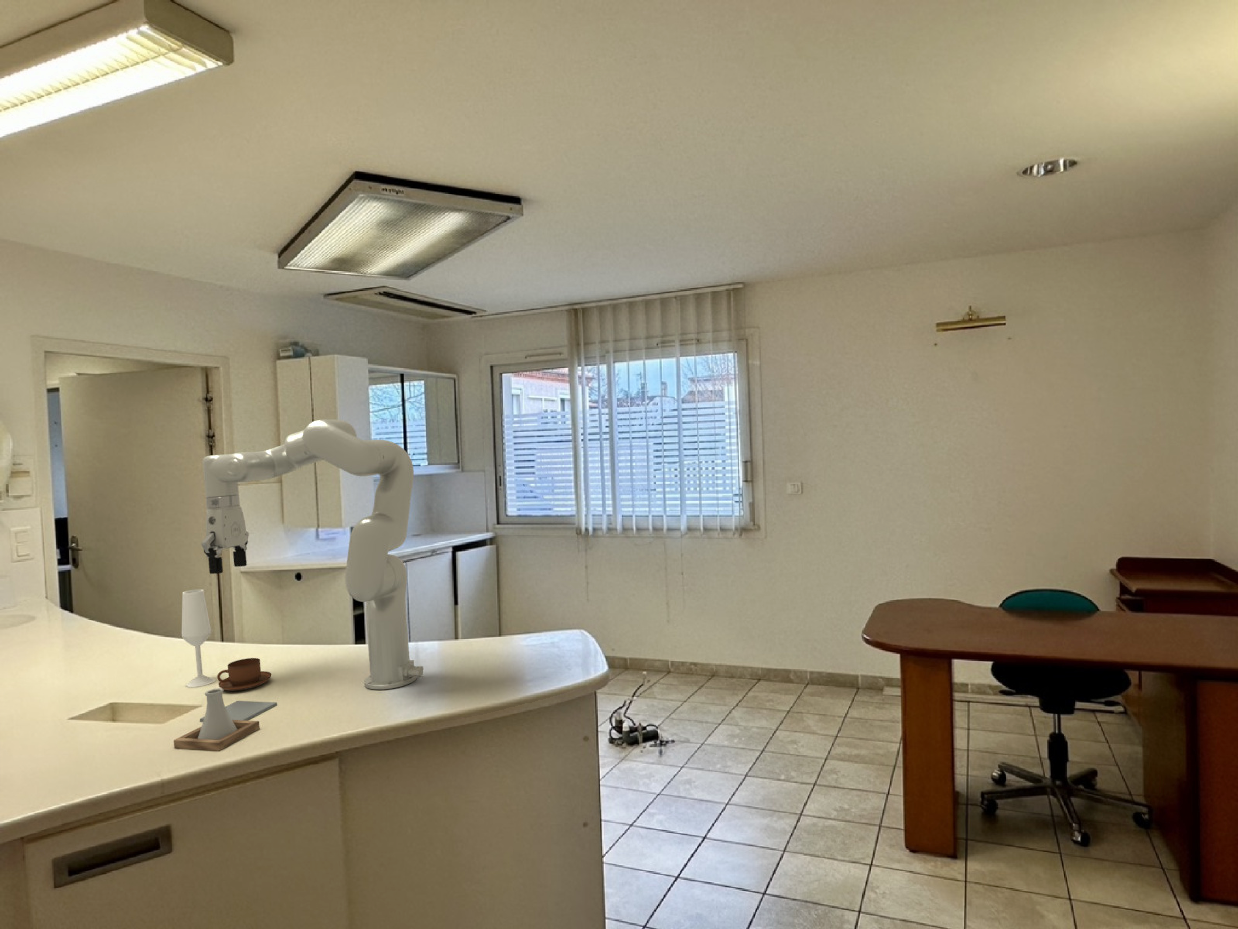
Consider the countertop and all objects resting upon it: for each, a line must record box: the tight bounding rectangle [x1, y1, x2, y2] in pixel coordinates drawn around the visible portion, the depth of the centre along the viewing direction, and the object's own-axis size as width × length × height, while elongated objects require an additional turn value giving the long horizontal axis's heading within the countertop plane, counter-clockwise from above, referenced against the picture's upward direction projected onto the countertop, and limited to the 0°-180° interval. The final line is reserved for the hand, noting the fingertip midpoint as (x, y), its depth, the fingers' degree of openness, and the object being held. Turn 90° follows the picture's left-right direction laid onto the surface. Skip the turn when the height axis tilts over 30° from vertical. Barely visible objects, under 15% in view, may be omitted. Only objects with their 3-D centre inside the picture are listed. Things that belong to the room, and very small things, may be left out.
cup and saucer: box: [216, 657, 272, 692], centre depth 186 cm, size 12×12×6 cm
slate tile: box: [199, 700, 278, 723], centre depth 166 cm, size 11×11×1 cm
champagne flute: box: [181, 589, 216, 688], centre depth 190 cm, size 7×7×24 cm
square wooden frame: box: [173, 720, 260, 752], centre depth 152 cm, size 11×11×2 cm
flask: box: [198, 687, 237, 740], centre depth 152 cm, size 7×7×10 cm
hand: (228, 569), depth 187 cm, fingers open, 9 cm apart
